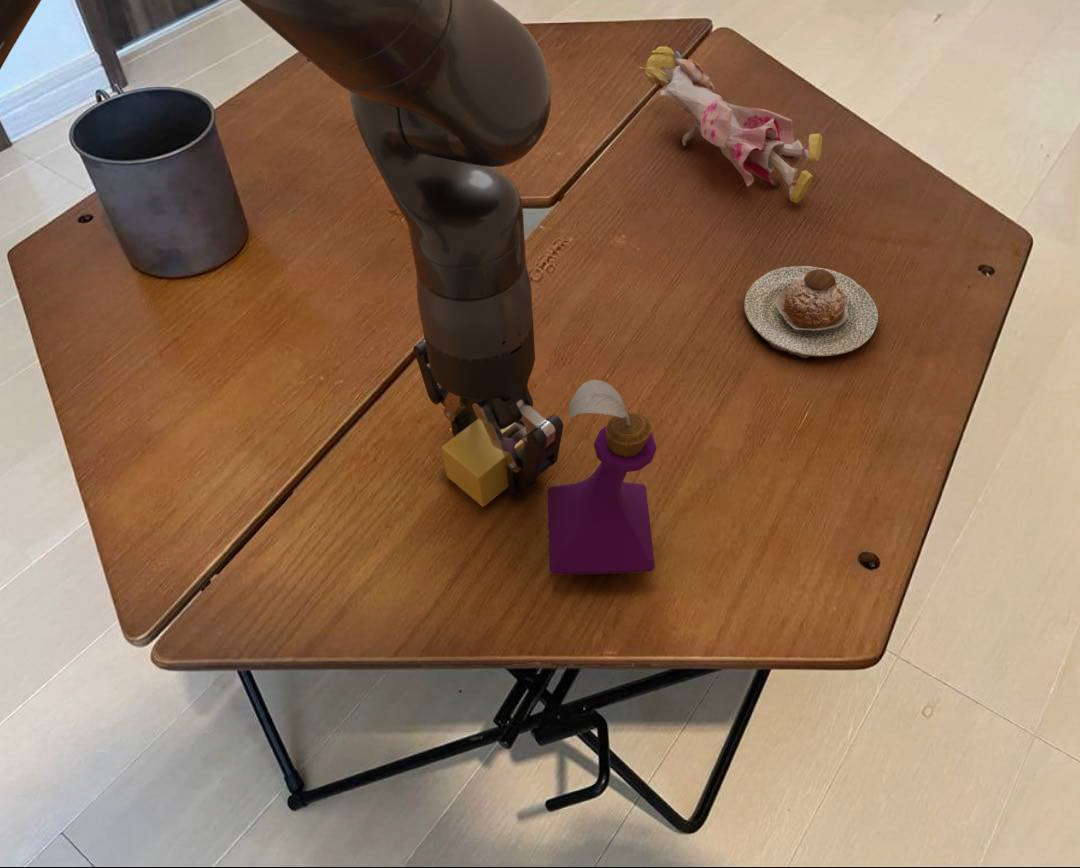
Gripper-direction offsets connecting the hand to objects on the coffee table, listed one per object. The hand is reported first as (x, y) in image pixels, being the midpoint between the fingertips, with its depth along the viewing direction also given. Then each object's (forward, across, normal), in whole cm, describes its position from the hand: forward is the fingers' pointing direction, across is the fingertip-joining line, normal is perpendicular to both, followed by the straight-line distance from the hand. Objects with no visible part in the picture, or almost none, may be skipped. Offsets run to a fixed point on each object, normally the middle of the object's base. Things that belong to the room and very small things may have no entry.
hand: (495, 464), depth 74 cm
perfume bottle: (+1, +12, 0) cm, 12 cm away
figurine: (+1, -14, +46) cm, 48 cm away
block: (0, 0, 0) cm, 0 cm away
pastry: (+1, +8, +32) cm, 33 cm away
